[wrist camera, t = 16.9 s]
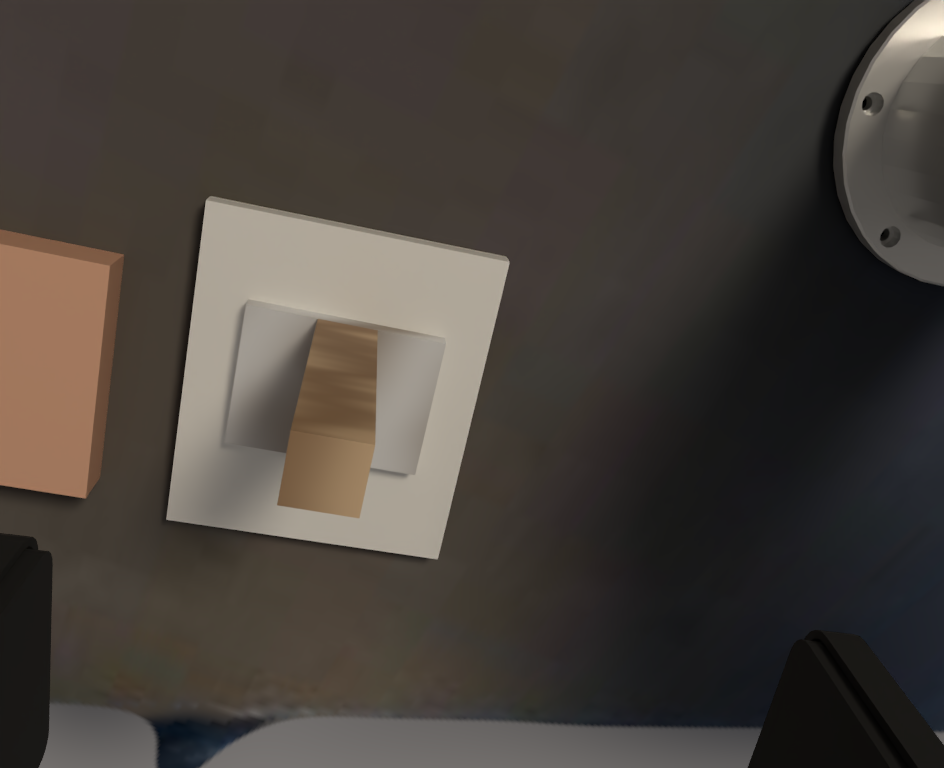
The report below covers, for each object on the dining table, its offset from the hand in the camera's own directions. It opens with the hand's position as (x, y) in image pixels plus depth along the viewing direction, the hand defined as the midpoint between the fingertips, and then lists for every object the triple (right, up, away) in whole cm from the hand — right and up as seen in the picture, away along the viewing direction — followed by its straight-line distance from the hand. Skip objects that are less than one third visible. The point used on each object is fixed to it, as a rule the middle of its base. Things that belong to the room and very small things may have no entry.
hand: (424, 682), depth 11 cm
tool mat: (-5, +4, +27) cm, 28 cm away
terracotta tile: (-18, +9, +23) cm, 30 cm away
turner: (-5, +4, +26) cm, 27 cm away
